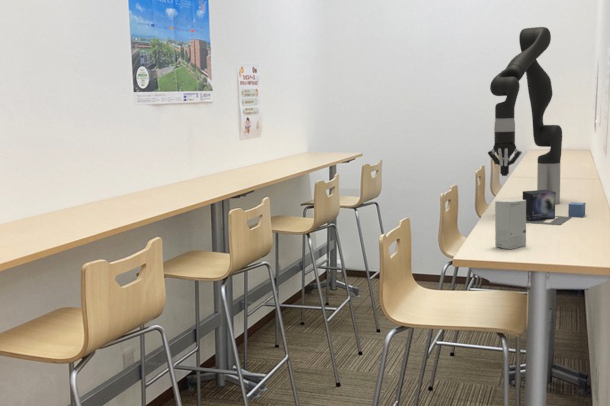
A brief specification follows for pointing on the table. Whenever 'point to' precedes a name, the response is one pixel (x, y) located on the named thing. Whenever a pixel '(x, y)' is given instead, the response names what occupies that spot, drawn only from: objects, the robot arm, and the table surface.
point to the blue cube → (576, 209)
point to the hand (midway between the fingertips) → (504, 175)
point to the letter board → (551, 220)
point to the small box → (539, 204)
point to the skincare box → (510, 223)
